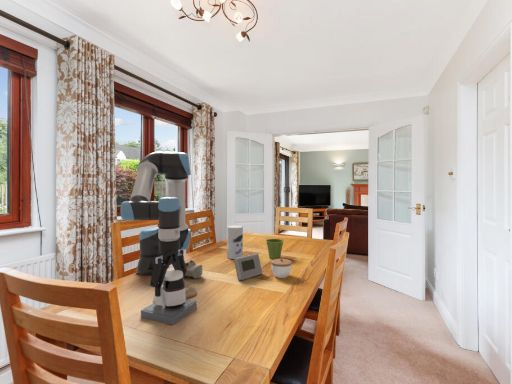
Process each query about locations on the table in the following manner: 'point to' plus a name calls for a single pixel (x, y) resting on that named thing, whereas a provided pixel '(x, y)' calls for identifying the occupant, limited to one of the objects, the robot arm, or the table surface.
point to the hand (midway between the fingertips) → (169, 298)
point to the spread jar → (173, 289)
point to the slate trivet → (168, 312)
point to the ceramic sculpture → (193, 270)
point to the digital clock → (248, 266)
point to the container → (234, 242)
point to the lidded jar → (281, 267)
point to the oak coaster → (190, 292)
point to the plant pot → (274, 248)
